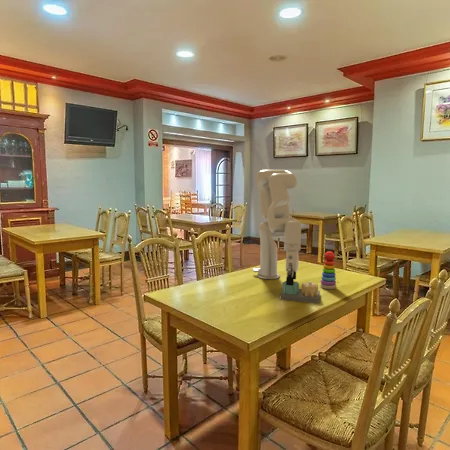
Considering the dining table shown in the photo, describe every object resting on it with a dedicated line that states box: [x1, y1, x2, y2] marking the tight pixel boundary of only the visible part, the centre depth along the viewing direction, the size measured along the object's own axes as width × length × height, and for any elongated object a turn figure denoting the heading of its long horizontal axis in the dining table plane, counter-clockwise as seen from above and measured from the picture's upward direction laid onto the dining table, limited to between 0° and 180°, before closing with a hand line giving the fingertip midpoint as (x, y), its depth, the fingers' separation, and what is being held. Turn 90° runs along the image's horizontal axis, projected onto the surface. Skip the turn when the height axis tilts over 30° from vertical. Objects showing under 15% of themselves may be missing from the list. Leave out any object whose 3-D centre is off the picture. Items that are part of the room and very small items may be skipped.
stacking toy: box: [319, 251, 337, 290], centre depth 178 cm, size 8×8×19 cm
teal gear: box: [282, 280, 300, 295], centre depth 166 cm, size 8×8×4 cm
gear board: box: [279, 281, 321, 304], centre depth 164 cm, size 17×12×8 cm
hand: (291, 281), depth 166 cm, fingers open, 9 cm apart
